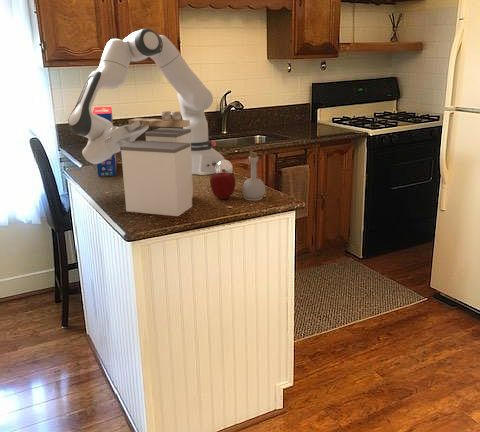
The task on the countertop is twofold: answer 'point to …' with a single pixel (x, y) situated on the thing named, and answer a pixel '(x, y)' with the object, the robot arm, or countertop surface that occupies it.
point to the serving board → (164, 120)
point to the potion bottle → (253, 182)
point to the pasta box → (110, 164)
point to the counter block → (159, 172)
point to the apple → (222, 184)
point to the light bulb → (224, 166)
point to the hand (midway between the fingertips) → (144, 121)
